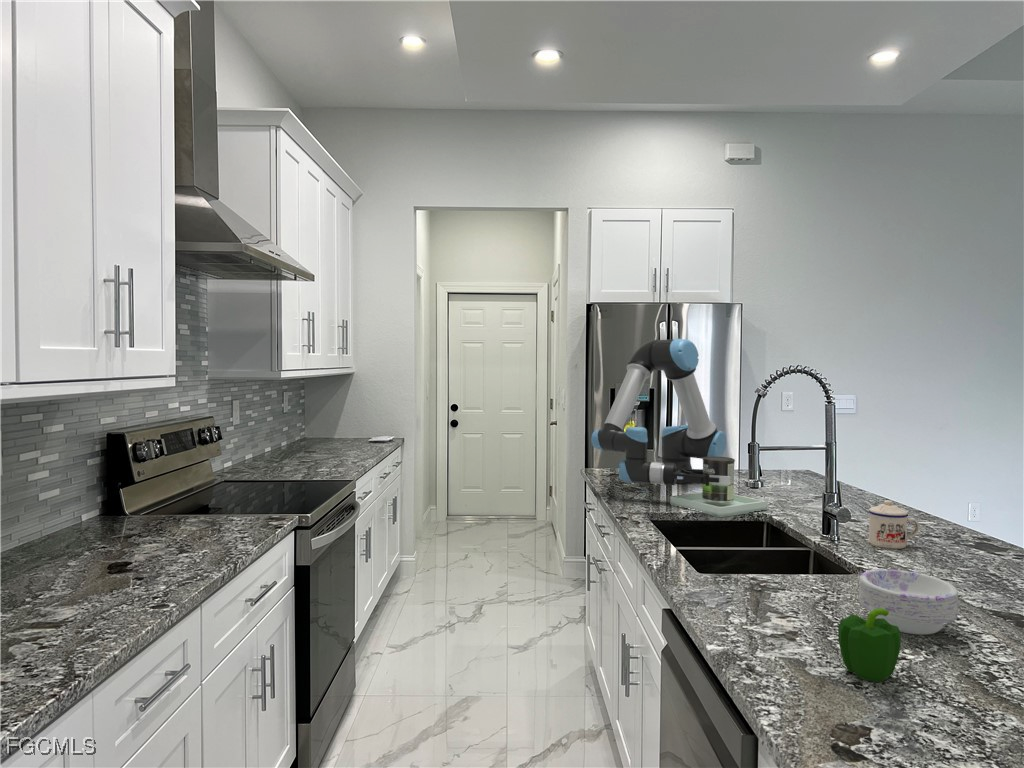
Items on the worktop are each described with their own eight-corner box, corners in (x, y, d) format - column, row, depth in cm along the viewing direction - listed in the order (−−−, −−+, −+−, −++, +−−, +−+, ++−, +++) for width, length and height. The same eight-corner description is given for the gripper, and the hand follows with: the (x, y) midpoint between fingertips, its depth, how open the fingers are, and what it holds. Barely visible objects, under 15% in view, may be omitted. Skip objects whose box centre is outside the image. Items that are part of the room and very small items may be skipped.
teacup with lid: (874, 548, 168) (875, 503, 168) (863, 539, 177) (863, 496, 177) (925, 551, 166) (926, 505, 166) (911, 542, 175) (912, 498, 174)
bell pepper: (840, 682, 95) (842, 614, 95) (834, 659, 103) (835, 596, 103) (906, 692, 92) (908, 623, 92) (895, 668, 100) (896, 603, 100)
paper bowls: (919, 648, 107) (920, 600, 107) (840, 616, 121) (840, 574, 121) (977, 634, 113) (978, 588, 113) (895, 605, 127) (896, 564, 127)
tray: (715, 498, 233) (715, 490, 233) (767, 510, 214) (767, 501, 214) (670, 504, 222) (670, 496, 222) (720, 517, 203) (720, 508, 203)
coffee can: (714, 504, 211) (714, 460, 211) (695, 498, 221) (696, 456, 221) (740, 502, 214) (741, 459, 214) (721, 496, 224) (722, 455, 224)
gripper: (669, 479, 235) (734, 484, 226) (657, 489, 215) (728, 495, 206) (670, 458, 235) (734, 462, 226) (657, 467, 214) (728, 471, 205)
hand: (731, 478), depth 216 cm, fingers closed on coffee can, 10 cm apart
